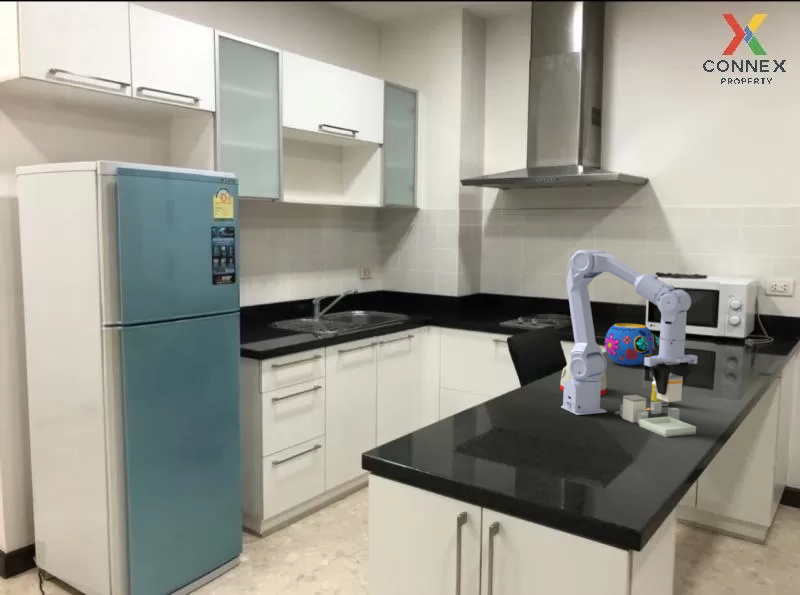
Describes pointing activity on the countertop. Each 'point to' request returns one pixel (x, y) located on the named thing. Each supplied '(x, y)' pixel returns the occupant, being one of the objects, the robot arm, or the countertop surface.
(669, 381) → the white box with band
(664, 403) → the supplement bottle
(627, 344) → the ceramic pot
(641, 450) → the countertop surface
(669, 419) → the tray
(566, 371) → the kitchen timer
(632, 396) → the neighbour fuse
